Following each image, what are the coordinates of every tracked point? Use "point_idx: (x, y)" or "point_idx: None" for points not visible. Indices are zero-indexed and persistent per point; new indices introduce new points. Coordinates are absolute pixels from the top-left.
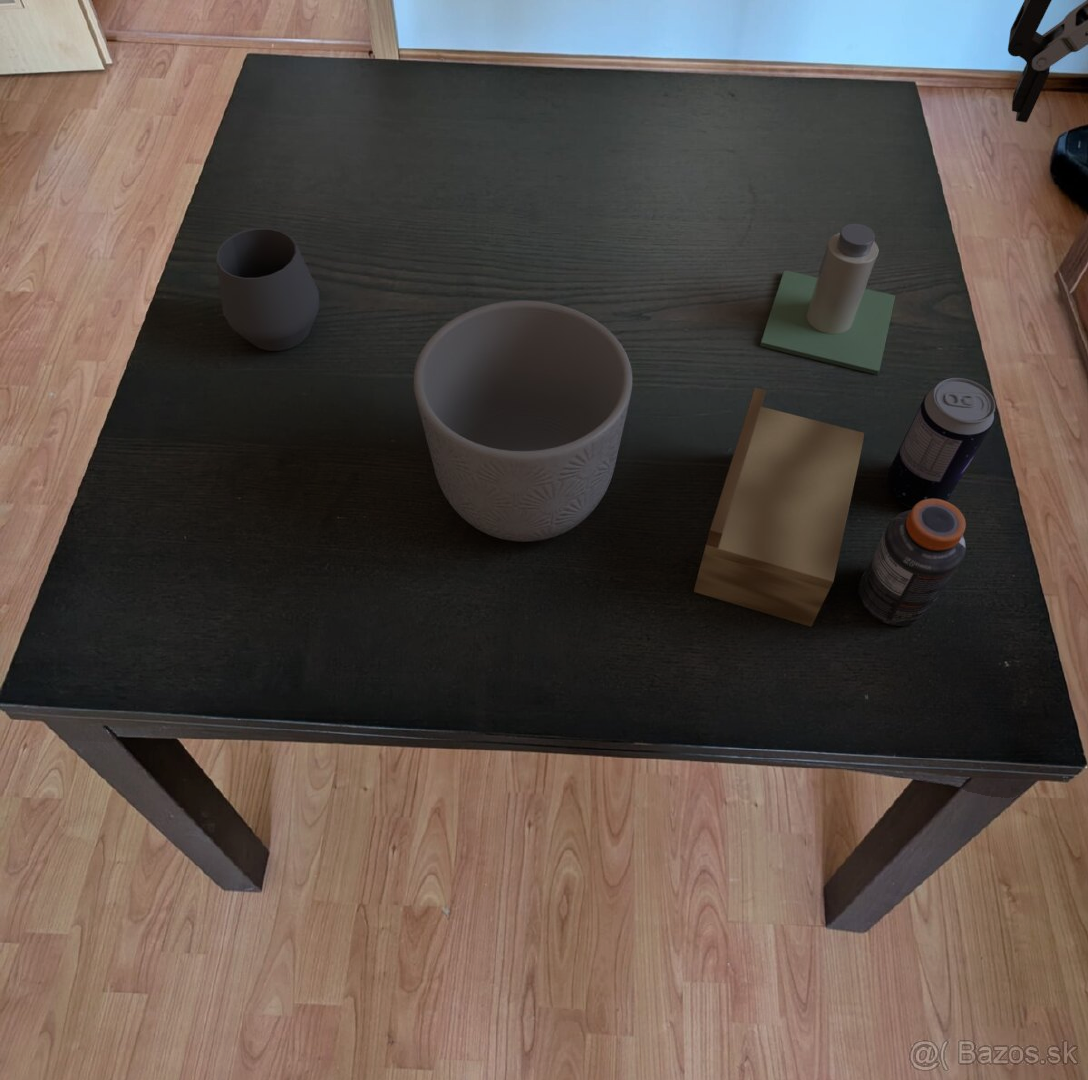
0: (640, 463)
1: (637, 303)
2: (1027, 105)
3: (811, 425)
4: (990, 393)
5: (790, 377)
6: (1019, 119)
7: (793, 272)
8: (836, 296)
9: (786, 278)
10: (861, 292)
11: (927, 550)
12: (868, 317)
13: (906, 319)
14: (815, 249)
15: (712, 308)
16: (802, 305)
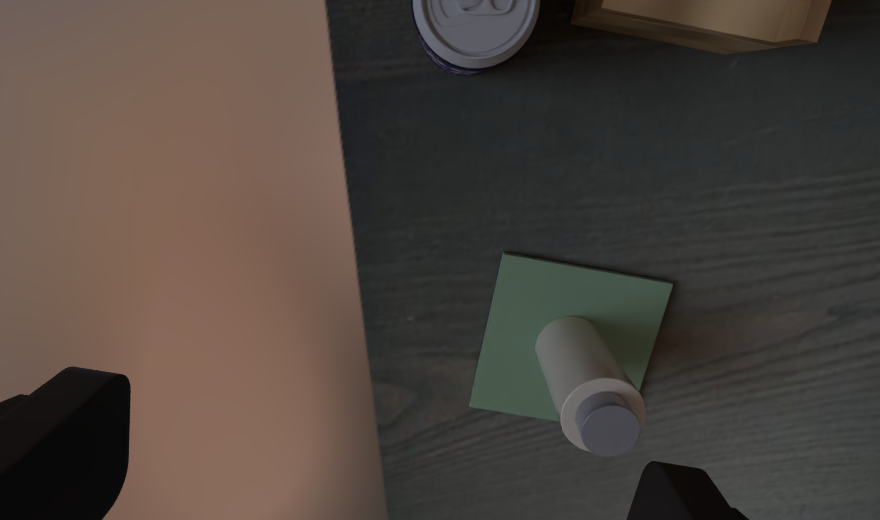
0: (873, 11)
1: (843, 338)
2: (719, 518)
3: (691, 9)
4: (426, 23)
5: (630, 227)
6: (691, 468)
7: None
8: (596, 346)
9: None
10: (558, 359)
11: None
12: (511, 358)
13: (453, 367)
14: (572, 482)
15: (732, 346)
16: None
